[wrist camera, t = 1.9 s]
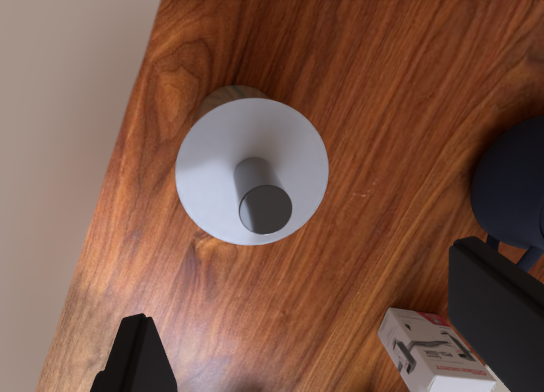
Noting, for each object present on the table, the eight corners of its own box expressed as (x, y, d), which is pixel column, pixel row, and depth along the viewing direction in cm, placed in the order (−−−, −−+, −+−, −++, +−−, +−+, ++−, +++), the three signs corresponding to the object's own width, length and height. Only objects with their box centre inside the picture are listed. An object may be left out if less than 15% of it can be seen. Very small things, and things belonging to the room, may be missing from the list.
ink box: (441, 313, 52) (502, 382, 41) (427, 340, 53) (482, 414, 42) (387, 305, 50) (436, 376, 39) (374, 334, 51) (418, 409, 40)
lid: (197, 251, 26) (193, 311, 20) (157, 113, 22) (137, 135, 16) (331, 221, 27) (366, 269, 21) (314, 82, 23) (351, 92, 17)
